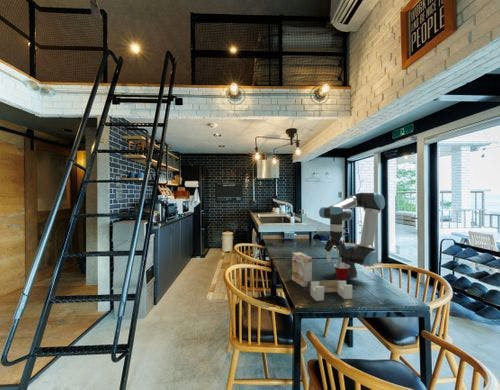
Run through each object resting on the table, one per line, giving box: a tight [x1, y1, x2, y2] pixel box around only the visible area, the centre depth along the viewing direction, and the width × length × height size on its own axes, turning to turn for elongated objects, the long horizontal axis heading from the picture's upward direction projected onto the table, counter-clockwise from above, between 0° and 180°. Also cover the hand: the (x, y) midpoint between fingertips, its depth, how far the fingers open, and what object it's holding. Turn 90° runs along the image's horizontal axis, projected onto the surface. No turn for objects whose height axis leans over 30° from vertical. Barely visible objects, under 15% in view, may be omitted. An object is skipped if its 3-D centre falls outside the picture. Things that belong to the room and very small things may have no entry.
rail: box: [306, 279, 340, 294], centre depth 159 cm, size 4×22×6 cm, turn 99°
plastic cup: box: [333, 262, 350, 281], centre depth 175 cm, size 11×11×12 cm
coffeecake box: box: [291, 251, 313, 288], centre depth 172 cm, size 15×7×20 cm, turn 21°
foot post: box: [337, 280, 353, 300], centre depth 151 cm, size 8×5×8 cm, turn 9°
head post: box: [310, 282, 325, 302], centre depth 149 cm, size 8×5×8 cm, turn 9°
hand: (335, 264), depth 156 cm, fingers open, 13 cm apart
